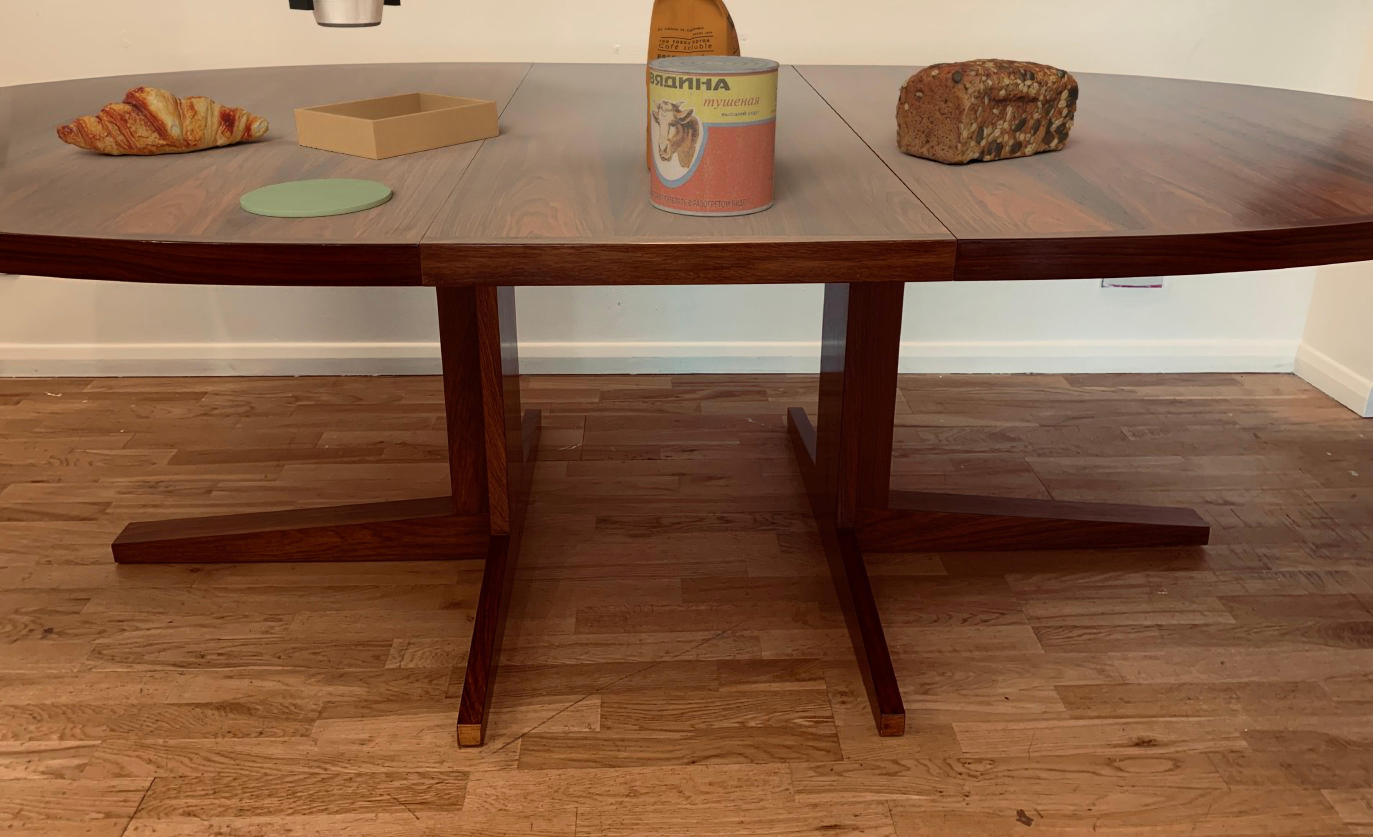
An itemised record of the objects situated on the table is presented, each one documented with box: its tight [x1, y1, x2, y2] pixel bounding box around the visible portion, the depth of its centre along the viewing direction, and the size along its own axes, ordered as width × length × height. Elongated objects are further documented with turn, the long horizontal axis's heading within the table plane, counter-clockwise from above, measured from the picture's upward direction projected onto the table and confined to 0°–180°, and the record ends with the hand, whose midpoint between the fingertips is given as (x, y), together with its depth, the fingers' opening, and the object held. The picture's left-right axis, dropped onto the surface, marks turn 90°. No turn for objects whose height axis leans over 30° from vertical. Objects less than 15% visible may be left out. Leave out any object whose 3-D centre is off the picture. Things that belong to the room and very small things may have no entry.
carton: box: [293, 91, 500, 161], centre depth 118 cm, size 14×18×4 cm
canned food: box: [648, 56, 780, 217], centre depth 90 cm, size 11×11×12 cm
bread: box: [894, 57, 1080, 165], centre depth 112 cm, size 19×11×10 cm, turn 123°
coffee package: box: [645, 0, 742, 170], centre depth 103 cm, size 10×12×22 cm
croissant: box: [55, 86, 270, 156], centre depth 112 cm, size 21×10×8 cm, turn 120°
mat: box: [239, 178, 393, 218], centre depth 92 cm, size 13×13×1 cm
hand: (347, 7), depth 100 cm, fingers closed on cup, 10 cm apart
